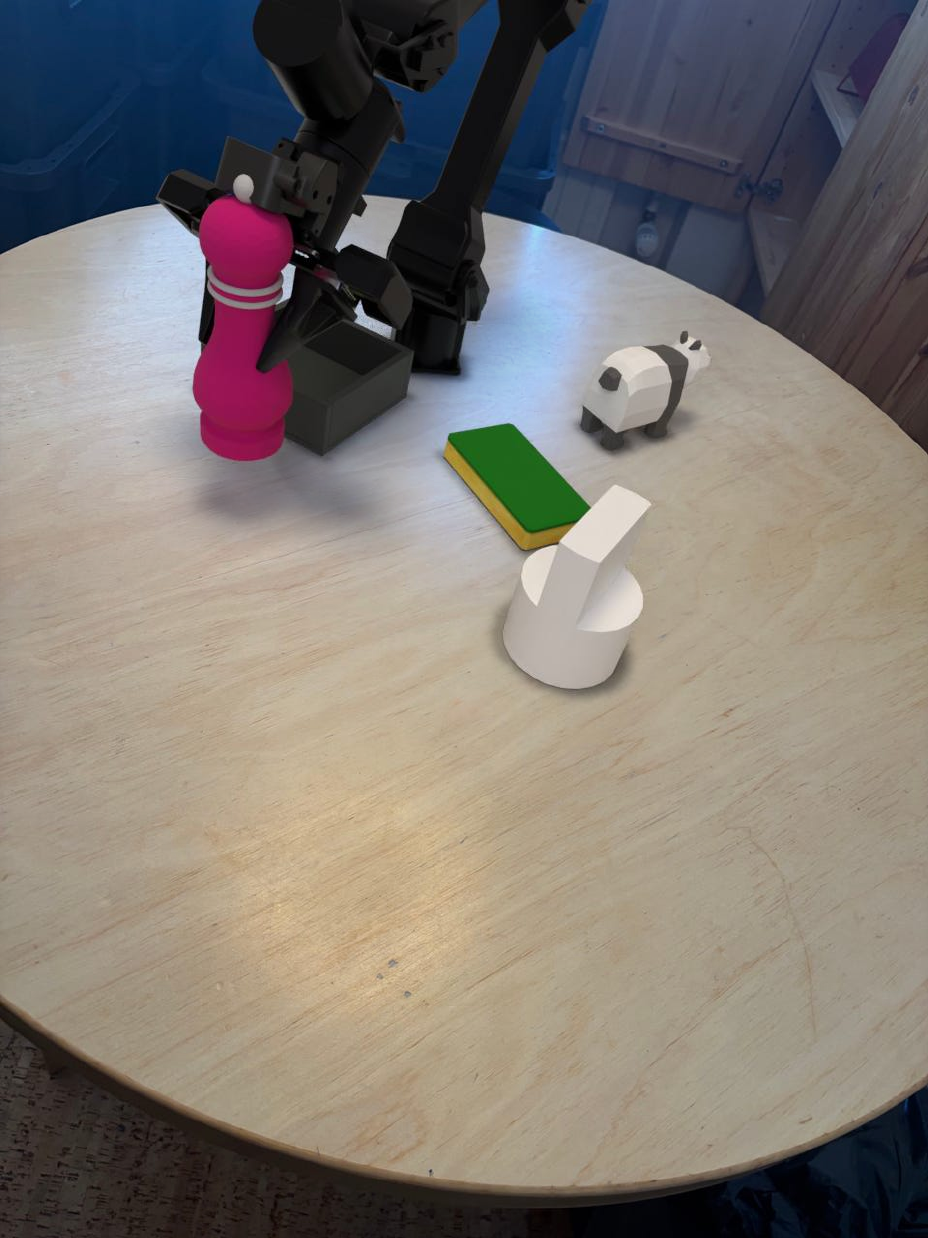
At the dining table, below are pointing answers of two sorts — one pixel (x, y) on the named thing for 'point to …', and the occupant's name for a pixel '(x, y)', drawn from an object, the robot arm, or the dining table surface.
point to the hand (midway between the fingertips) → (230, 357)
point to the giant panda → (641, 388)
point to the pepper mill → (242, 327)
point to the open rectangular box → (342, 383)
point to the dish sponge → (516, 484)
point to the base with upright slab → (579, 597)
